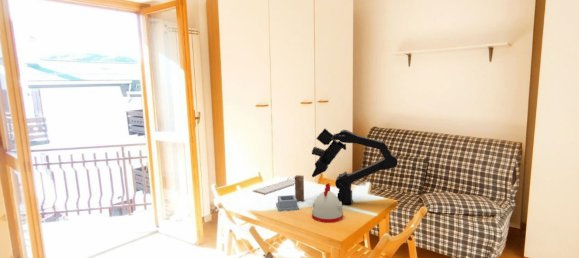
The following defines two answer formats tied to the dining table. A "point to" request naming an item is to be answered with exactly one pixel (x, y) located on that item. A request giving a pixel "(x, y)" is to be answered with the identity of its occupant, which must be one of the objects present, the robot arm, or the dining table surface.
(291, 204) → the end cap
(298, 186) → the brown wooden block
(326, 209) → the kitchen timer
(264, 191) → the baseboard molding
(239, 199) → the dining table surface
